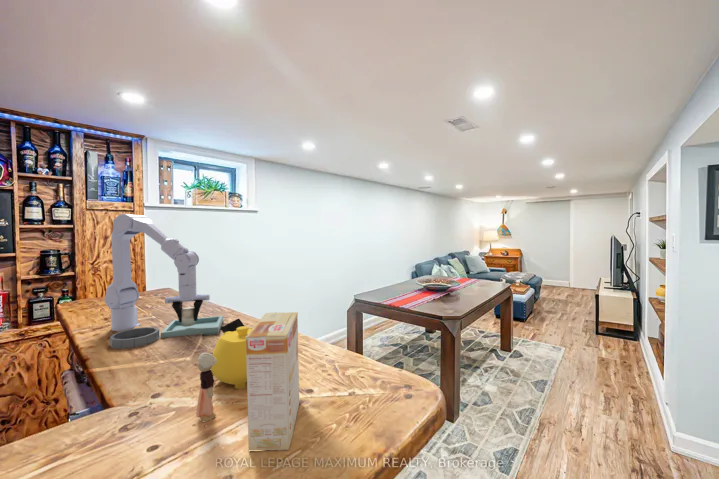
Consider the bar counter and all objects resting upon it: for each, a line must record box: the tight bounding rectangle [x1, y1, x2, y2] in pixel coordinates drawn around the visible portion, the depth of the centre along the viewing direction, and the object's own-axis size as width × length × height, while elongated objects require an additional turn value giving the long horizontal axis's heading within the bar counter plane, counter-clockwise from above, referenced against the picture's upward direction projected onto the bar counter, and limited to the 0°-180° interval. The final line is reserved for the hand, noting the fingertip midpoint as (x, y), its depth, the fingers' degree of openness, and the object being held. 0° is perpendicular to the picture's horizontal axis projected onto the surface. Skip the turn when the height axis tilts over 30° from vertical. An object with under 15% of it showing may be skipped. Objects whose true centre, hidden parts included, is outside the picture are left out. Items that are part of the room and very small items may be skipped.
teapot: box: [210, 325, 253, 390], centre depth 77 cm, size 14×20×13 cm
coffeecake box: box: [245, 311, 300, 451], centre depth 58 cm, size 15×7×20 cm, turn 4°
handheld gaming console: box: [220, 318, 245, 334], centre depth 107 cm, size 12×7×10 cm
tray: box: [160, 315, 224, 339], centre depth 116 cm, size 16×18×2 cm
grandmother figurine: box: [195, 352, 217, 422], centre depth 61 cm, size 8×4×13 cm, turn 45°
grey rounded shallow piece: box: [109, 326, 160, 350], centre depth 103 cm, size 13×13×4 cm
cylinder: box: [181, 306, 195, 327], centre depth 115 cm, size 4×4×6 cm
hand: (188, 320), depth 115 cm, fingers closed on cylinder, 4 cm apart
